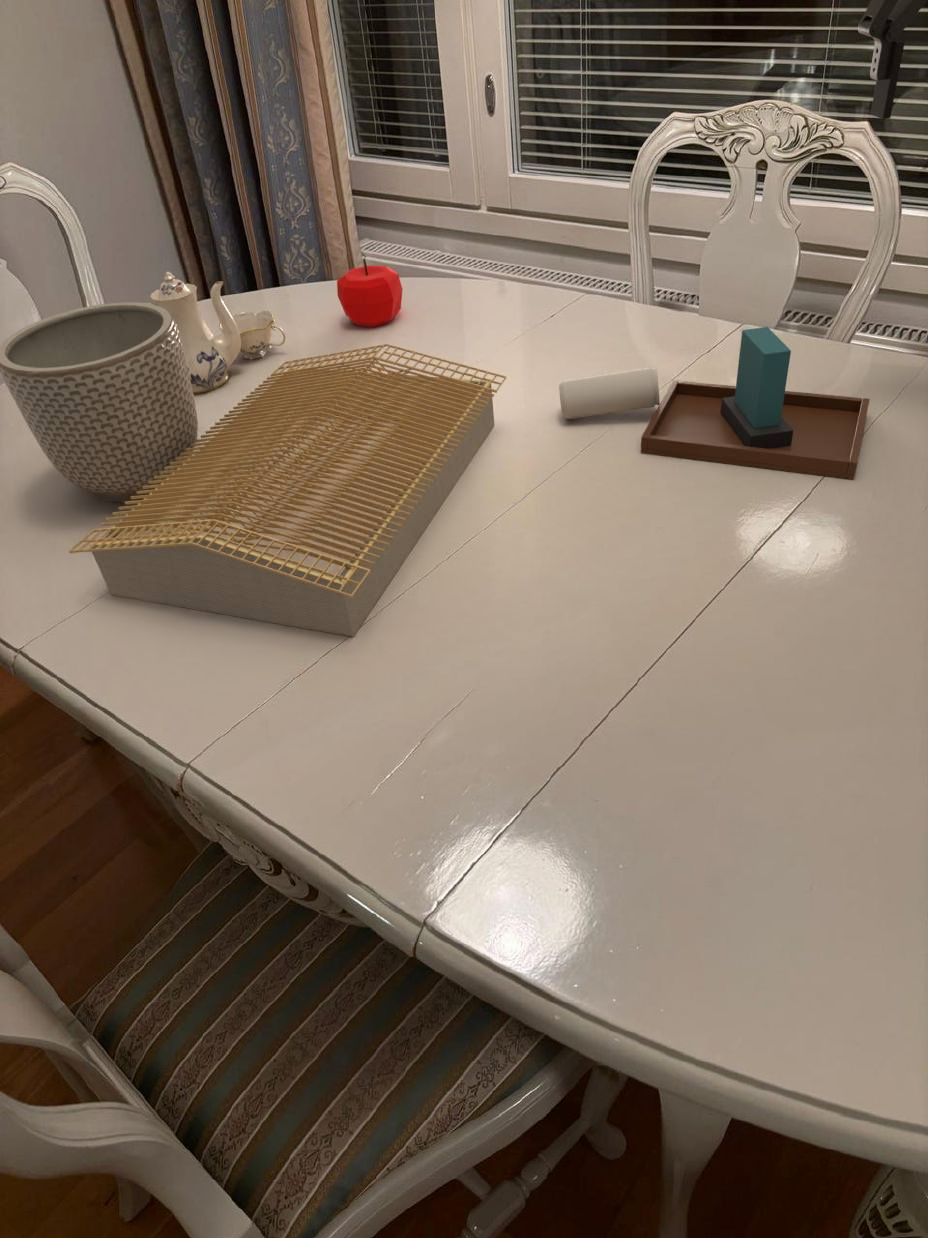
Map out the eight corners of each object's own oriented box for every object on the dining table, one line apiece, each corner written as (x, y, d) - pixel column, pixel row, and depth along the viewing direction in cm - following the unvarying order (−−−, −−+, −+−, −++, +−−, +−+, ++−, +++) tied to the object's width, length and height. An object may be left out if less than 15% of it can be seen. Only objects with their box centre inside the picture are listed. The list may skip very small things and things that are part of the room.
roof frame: (363, 647, 82) (345, 565, 76) (91, 599, 92) (55, 522, 86) (509, 421, 114) (504, 350, 108) (294, 403, 124) (279, 337, 118)
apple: (405, 328, 141) (396, 264, 135) (339, 334, 142) (327, 271, 136) (407, 304, 150) (399, 243, 143) (345, 310, 150) (334, 249, 144)
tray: (866, 414, 107) (869, 398, 106) (853, 479, 96) (857, 462, 95) (672, 394, 116) (672, 379, 114) (640, 452, 105) (641, 436, 104)
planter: (53, 470, 115) (-10, 328, 103) (201, 428, 121) (158, 288, 108) (68, 544, 101) (-4, 389, 89) (235, 493, 106) (189, 340, 94)
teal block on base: (759, 407, 110) (771, 320, 103) (791, 445, 102) (806, 354, 95) (720, 412, 109) (729, 325, 102) (748, 451, 102) (760, 360, 95)
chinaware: (282, 345, 145) (255, 237, 135) (301, 372, 131) (273, 255, 122) (108, 385, 139) (68, 275, 130) (109, 418, 125) (65, 298, 116)
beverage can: (558, 373, 112) (654, 358, 110) (563, 405, 115) (656, 391, 113) (559, 395, 109) (658, 380, 106) (564, 427, 112) (660, 413, 110)
